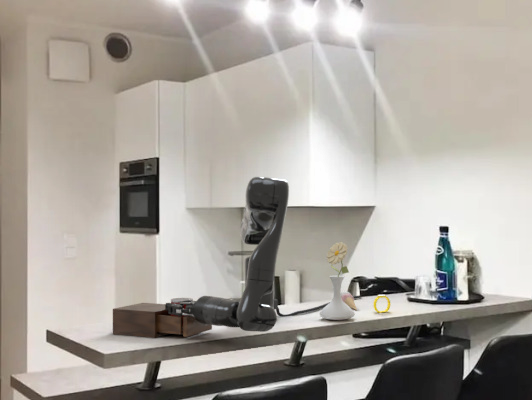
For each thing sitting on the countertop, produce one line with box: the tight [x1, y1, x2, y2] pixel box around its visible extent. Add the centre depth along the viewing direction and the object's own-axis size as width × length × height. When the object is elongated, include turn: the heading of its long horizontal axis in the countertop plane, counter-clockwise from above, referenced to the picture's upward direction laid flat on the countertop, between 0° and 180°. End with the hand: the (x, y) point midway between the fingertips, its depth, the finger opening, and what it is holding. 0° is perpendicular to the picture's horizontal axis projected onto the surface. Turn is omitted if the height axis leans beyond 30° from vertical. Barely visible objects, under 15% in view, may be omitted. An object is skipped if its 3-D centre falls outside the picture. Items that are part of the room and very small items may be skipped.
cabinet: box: [112, 302, 171, 339], centre depth 204 cm, size 15×14×7 cm
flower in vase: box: [319, 241, 356, 321], centre depth 226 cm, size 13×11×25 cm
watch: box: [373, 294, 392, 314], centre depth 241 cm, size 6×3×6 cm, turn 115°
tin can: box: [170, 297, 194, 329], centre depth 200 cm, size 6×6×8 cm
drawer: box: [156, 312, 213, 338], centre depth 199 cm, size 18×12×5 cm
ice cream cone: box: [341, 290, 358, 311], centre depth 253 cm, size 5×5×15 cm
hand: (177, 305), depth 201 cm, fingers open, 6 cm apart
